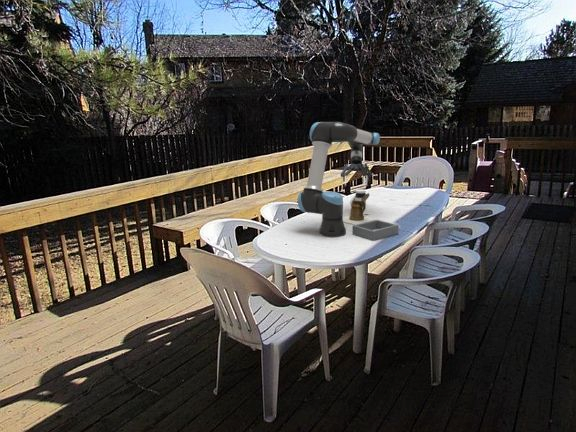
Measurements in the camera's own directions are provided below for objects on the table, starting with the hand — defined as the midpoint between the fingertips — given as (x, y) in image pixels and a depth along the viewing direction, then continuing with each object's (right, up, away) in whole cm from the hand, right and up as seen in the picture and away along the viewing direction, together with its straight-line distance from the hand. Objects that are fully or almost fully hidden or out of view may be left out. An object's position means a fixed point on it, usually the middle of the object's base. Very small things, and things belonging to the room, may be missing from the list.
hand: (355, 185), depth 276 cm
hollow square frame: (+5, -30, -35) cm, 47 cm away
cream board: (-1, -23, -5) cm, 23 cm away
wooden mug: (+1, -22, -6) cm, 23 cm away
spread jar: (+7, -13, +34) cm, 37 cm away
